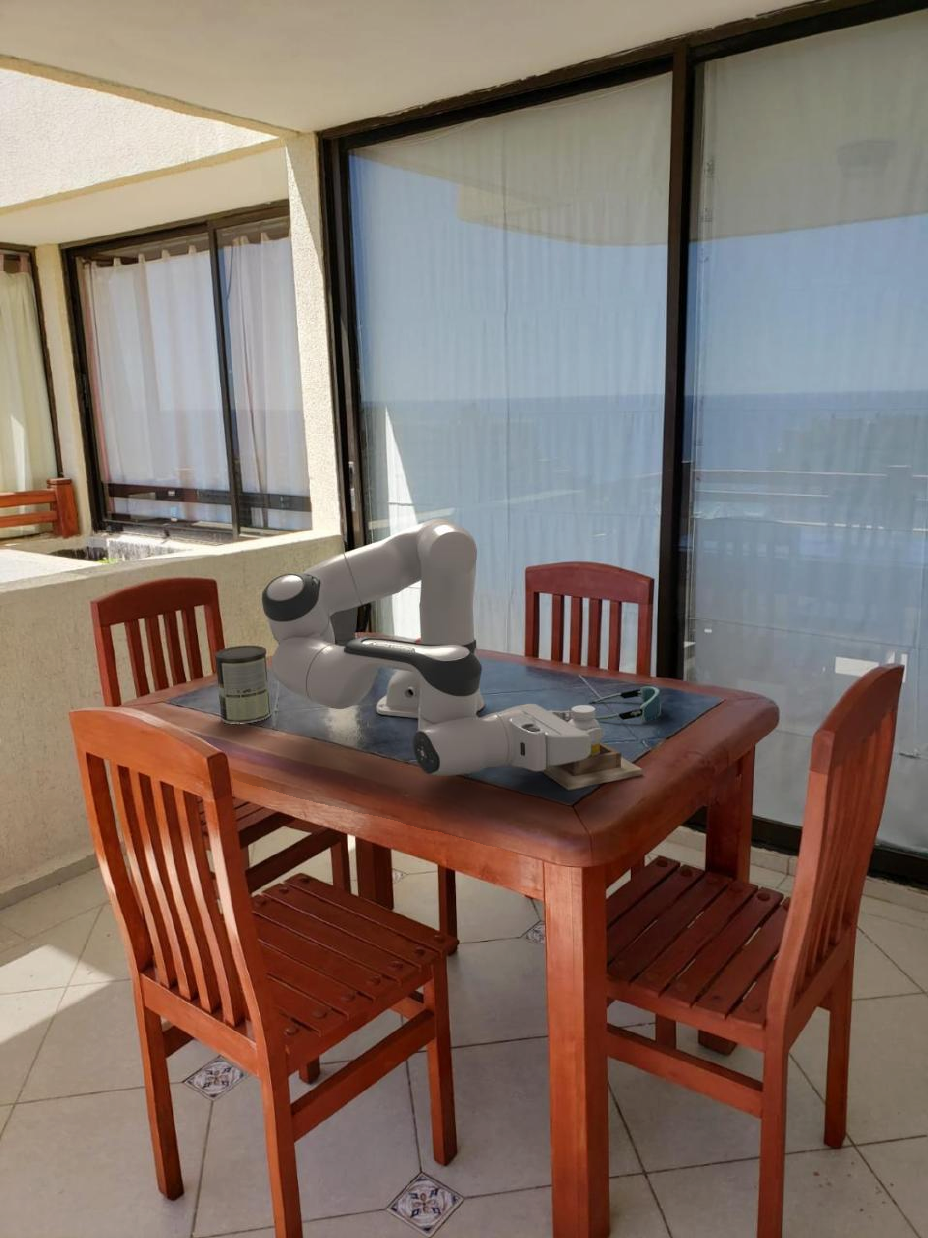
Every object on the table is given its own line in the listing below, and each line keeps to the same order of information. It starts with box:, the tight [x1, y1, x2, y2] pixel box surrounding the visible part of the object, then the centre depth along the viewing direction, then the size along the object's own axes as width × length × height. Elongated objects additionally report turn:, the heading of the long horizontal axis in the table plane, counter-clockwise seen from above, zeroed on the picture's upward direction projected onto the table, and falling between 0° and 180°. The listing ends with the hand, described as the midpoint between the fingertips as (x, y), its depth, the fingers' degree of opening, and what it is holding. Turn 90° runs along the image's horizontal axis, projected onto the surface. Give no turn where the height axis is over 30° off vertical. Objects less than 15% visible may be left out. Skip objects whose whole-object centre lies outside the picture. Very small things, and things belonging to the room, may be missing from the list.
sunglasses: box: [588, 686, 662, 723], centre depth 188 cm, size 14×15×5 cm
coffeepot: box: [329, 601, 372, 647], centre depth 232 cm, size 15×9×18 cm, turn 125°
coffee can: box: [214, 645, 272, 724], centre depth 192 cm, size 10×10×14 cm
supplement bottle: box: [568, 704, 601, 757], centre depth 158 cm, size 5×5×10 cm
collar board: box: [541, 740, 643, 791], centre depth 159 cm, size 14×14×4 cm
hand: (586, 723), depth 157 cm, fingers open, 8 cm apart
